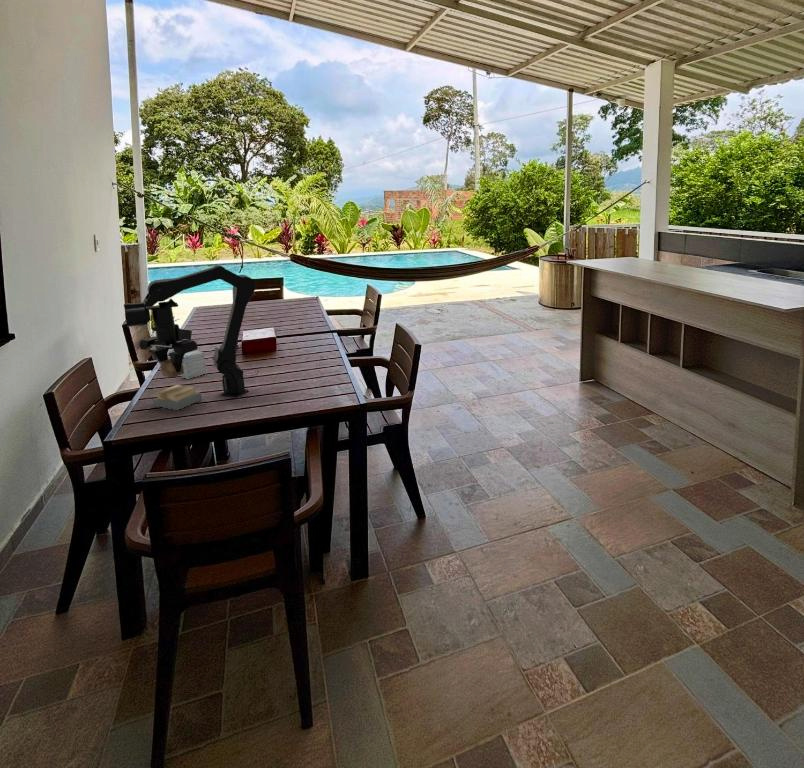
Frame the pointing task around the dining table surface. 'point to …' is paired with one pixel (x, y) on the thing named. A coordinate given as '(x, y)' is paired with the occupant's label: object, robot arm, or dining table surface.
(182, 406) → the slate slab
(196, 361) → the medicine box
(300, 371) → the dining table surface
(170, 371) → the walnut cube
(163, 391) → the oak block
